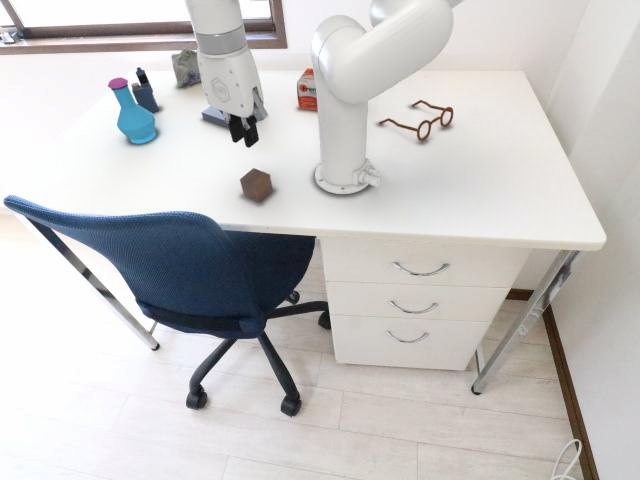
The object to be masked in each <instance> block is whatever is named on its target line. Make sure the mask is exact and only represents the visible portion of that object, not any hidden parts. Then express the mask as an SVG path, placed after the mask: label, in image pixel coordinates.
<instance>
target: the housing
mask: <svg viewBox="0 0 640 480" xmlns="http://www.w3.org/2000/svg"><path fill="white" fill-rule="evenodd" d="M200 113H201V116H202V120H203V121H206V122H210V123H212V124H215V125H218V126H220V127H223V128H226V129H229V126H228V124H229V123H226V122H225V120H224V116H223V114H222V113H221V112H220V111H219V110H218V109H216V108H213V107H211V106H210V105H209V107H207V108H206V109H204V110H203V111H201V112H200ZM238 117H239V116H238ZM249 118H250V116H249V117H248V119H249Z"/></svg>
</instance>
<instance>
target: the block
mask: <svg viewBox="0 0 640 480" xmlns="http://www.w3.org/2000/svg"><path fill="white" fill-rule="evenodd" d="M239 182H240V186H241V189H242V193H243V196H244V197H245V198H246V197H247V198H248V199H251V200H253V201H255V202H258V203H261V202H262V201H264V200H265V199H266V198H267V197H268V196H269V195H270V194H271V193H272V192H274V191H273V190H274V189H273V184H272V179H271V174H270V173H267V172H265V171H264V170H260V169H258V168H255V167H253V168H251V169H250V170H249V171H248V172H247V173H245V174H244V175H243V176H242V177H241V178H240V179H239Z"/></svg>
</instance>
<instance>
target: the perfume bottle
mask: <svg viewBox="0 0 640 480" xmlns="http://www.w3.org/2000/svg"><path fill="white" fill-rule="evenodd" d="M107 87H108V88H110V90H111V91H112V92H113V94H114V96H115V98H116V100H117V102H118V104H119V106H120V110H119V113H118V117H117V122H116V126H117V128H118V130H119V131H120V132H121V133H122V134H123V135H124V136H125V137H126V138H128V139H129V140H130V142H131V143H133V144H138V145H139V144H144V143H147V142H150V141H152V140H153V139H154V138H155V137H156V135H157V133H156V119H155V115H154V113H153V112H152V113H151V112H149V111H148V110H146V109H144V108H143V107H141V106H140V105H138V103H137V102H136V100H135V98H134V95H132V94H133V93H132V92H131V90H130V88H129V79H126V78H124V77H116V78H112V79H111V80H109V82H108V83H107Z"/></svg>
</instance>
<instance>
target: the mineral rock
mask: <svg viewBox="0 0 640 480" xmlns="http://www.w3.org/2000/svg"><path fill="white" fill-rule="evenodd" d="M170 57H171V58H170V59H171V62H172V63H171V64H172V69H173V72H174V76H175V80H176V82H177V85H178V87H181V88H182V87H185V86H190V85H192V84H195V83H200V82H202V81H201V77H200V72H199V67H198V60H197V51H195V50H192V49H188V48H184V49H182V50H181V51H180V53H173V54H171V56H170Z"/></svg>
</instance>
